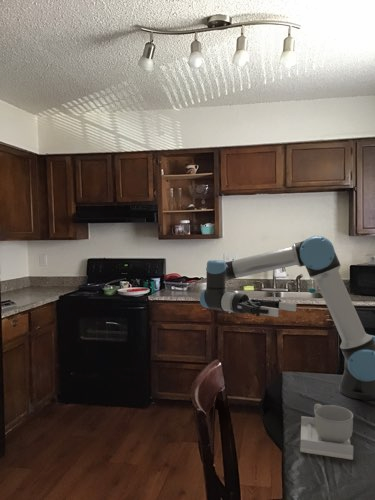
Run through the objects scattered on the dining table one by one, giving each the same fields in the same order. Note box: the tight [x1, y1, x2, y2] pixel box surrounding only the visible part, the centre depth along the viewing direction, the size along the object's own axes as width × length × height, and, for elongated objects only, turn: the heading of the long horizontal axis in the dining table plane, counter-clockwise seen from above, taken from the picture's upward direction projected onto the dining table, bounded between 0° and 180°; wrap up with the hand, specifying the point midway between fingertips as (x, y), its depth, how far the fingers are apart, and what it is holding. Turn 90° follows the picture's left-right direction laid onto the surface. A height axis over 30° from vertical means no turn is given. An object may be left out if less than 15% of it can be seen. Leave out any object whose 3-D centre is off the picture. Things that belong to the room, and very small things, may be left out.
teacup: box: [313, 403, 354, 443], centre depth 126 cm, size 14×11×8 cm
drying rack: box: [299, 415, 354, 460], centre depth 127 cm, size 16×14×4 cm
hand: (287, 310), depth 149 cm, fingers open, 13 cm apart
